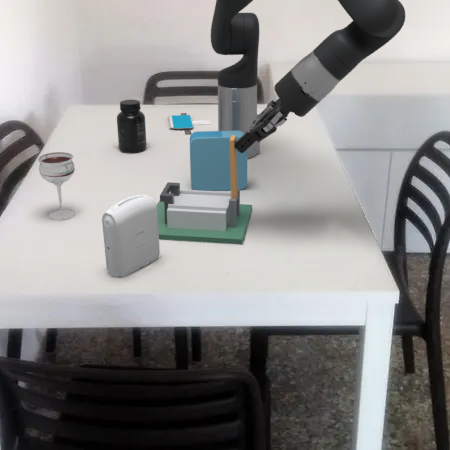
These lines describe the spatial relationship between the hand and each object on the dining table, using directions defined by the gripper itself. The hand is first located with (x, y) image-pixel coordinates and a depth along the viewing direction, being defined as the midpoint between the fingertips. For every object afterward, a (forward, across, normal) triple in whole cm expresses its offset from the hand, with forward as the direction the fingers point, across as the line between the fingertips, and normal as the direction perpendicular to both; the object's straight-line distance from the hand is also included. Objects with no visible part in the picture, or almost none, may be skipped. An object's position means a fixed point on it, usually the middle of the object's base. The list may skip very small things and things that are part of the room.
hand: (238, 148), depth 133 cm
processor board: (+16, 0, +5) cm, 17 cm away
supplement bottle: (+33, -41, -12) cm, 54 cm away
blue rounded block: (+16, -19, +6) cm, 26 cm away
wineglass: (+36, 0, -14) cm, 39 cm away
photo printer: (+22, +18, 0) cm, 29 cm away
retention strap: (+8, 0, +6) cm, 10 cm away
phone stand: (+27, -64, -4) cm, 70 cm away
